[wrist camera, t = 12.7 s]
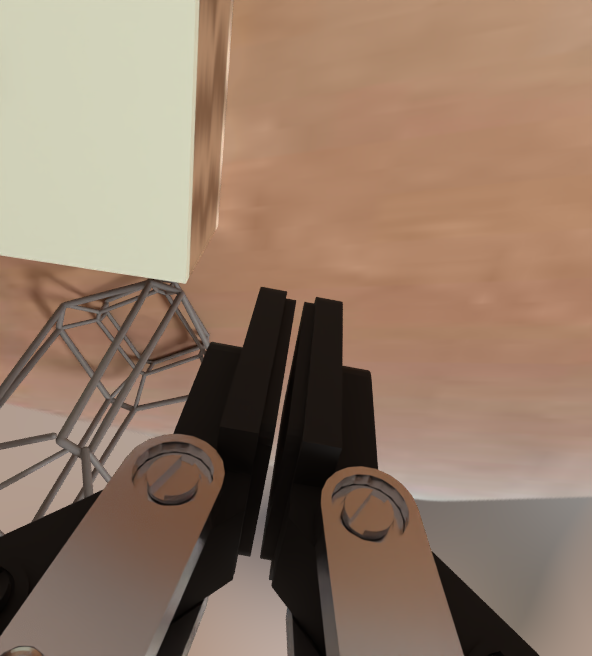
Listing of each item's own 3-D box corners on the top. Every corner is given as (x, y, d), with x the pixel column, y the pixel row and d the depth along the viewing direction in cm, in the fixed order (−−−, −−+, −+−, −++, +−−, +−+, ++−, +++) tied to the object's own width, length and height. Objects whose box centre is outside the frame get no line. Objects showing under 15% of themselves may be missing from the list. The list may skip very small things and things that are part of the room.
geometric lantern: (257, 364, 52) (141, 833, 23) (129, 395, 56) (-108, 826, 27) (189, 228, 44) (-118, 680, 15) (46, 275, 48) (-414, 703, 19)
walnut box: (-10, -142, 32) (-136, -198, 23) (240, -97, 32) (205, -135, 24) (36, 195, 44) (-36, 239, 35) (217, 226, 44) (189, 277, 35)
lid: (-144, -201, 23) (-161, -209, 22) (204, -135, 24) (200, -140, 23) (-41, 241, 35) (-49, 247, 34) (189, 277, 35) (185, 283, 35)
